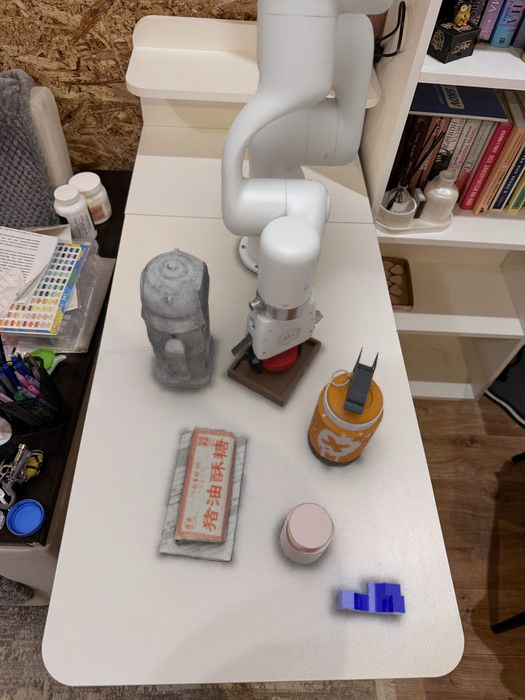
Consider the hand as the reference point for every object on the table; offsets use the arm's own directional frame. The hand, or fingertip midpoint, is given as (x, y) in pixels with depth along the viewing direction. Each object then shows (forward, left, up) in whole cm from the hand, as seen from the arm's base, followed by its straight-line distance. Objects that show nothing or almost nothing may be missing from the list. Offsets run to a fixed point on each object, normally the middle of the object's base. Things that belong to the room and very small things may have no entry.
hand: (275, 357), depth 86 cm
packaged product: (+25, +3, -1) cm, 25 cm away
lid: (0, 0, +3) cm, 3 cm away
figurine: (+8, -13, -1) cm, 15 cm away
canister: (+6, +15, -1) cm, 16 cm away
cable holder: (+25, +29, -1) cm, 39 cm away
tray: (0, 0, -1) cm, 1 cm away
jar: (+23, +18, -1) cm, 30 cm away
